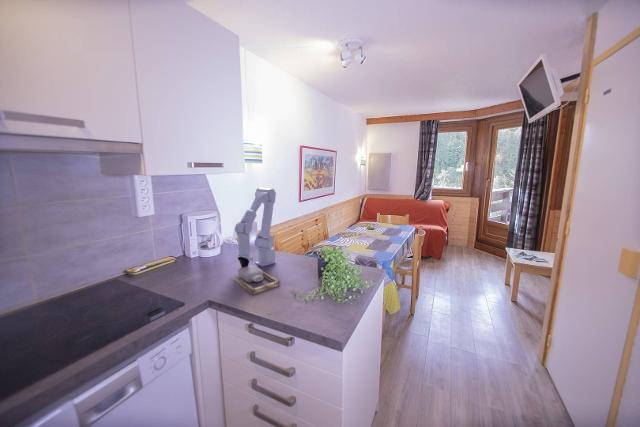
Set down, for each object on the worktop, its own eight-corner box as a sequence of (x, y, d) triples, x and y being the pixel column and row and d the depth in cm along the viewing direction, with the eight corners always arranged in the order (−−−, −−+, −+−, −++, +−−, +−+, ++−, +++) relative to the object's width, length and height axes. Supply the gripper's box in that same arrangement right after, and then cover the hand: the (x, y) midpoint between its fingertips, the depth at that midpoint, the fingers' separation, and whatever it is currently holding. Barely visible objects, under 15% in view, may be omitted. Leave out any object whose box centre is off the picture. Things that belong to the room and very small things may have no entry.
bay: (260, 273, 138) (260, 269, 138) (279, 285, 125) (279, 281, 125) (234, 280, 129) (234, 276, 128) (252, 294, 116) (252, 290, 115)
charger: (252, 287, 122) (238, 277, 133) (269, 282, 128) (254, 272, 139) (252, 278, 121) (237, 268, 132) (269, 273, 127) (254, 264, 138)
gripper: (230, 243, 136) (231, 267, 138) (243, 250, 125) (244, 276, 128) (243, 240, 141) (243, 264, 143) (256, 247, 130) (256, 273, 133)
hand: (244, 270), depth 136 cm, fingers closed
